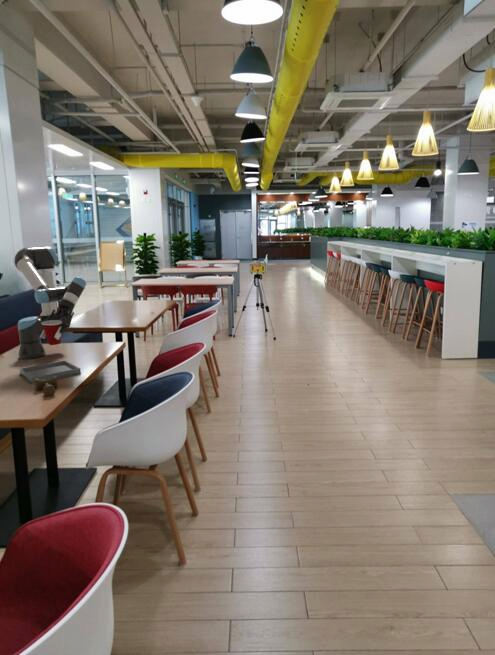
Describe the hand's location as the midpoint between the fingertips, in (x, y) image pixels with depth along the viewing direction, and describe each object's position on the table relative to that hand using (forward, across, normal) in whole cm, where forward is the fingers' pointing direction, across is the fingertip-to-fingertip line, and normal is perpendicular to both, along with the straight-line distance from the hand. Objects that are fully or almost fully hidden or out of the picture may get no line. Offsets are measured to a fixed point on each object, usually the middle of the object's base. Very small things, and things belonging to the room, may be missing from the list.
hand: (49, 338), depth 259 cm
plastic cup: (+1, 0, -5) cm, 5 cm away
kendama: (+30, -22, +3) cm, 37 cm away
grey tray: (+15, 0, -12) cm, 19 cm away
